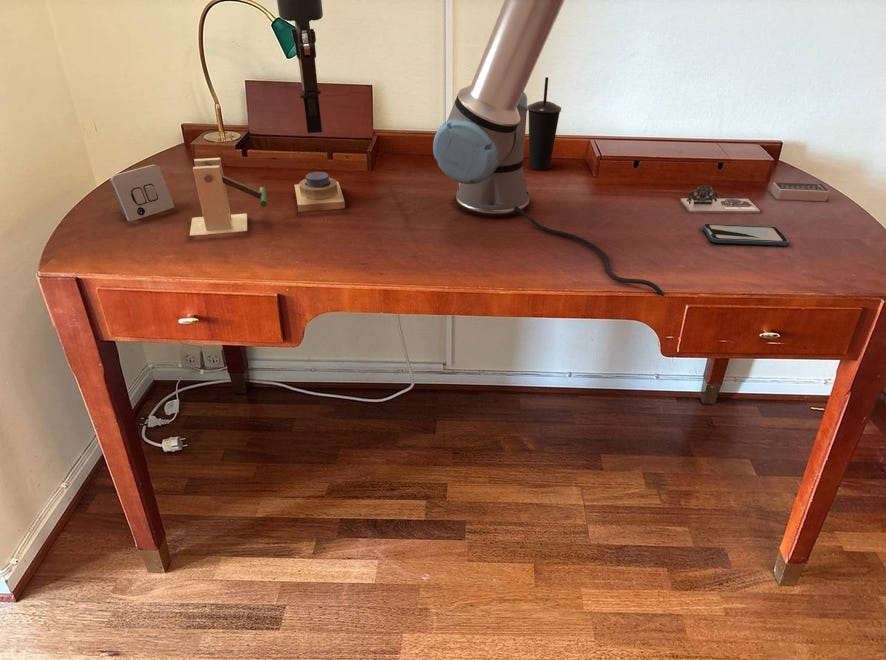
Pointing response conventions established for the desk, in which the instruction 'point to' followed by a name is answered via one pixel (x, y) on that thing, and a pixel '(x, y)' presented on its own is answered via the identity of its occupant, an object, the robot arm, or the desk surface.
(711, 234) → the smartphone
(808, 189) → the multiport hub
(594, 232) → the desk surface
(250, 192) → the lever
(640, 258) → the desk surface
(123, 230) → the desk surface
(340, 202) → the button box
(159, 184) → the electrical switch
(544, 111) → the drinking cup
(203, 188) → the switch bracket
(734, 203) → the car cutout
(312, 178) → the button
